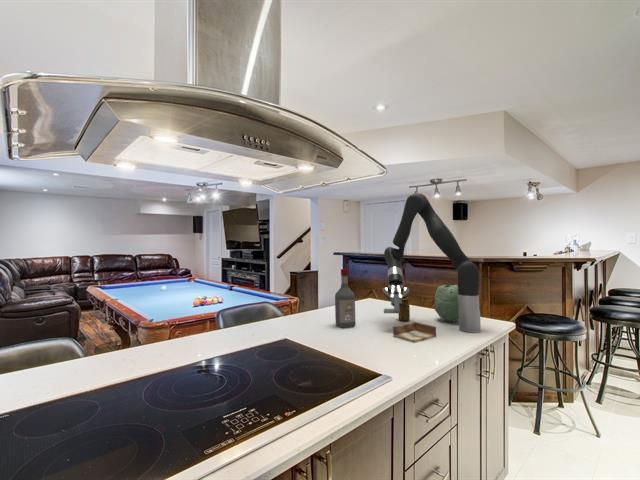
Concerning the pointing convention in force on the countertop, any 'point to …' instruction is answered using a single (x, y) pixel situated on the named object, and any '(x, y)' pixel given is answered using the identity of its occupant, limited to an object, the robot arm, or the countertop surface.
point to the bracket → (396, 304)
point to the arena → (414, 336)
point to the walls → (414, 328)
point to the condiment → (404, 311)
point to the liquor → (345, 303)
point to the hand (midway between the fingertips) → (396, 305)
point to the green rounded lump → (447, 302)
